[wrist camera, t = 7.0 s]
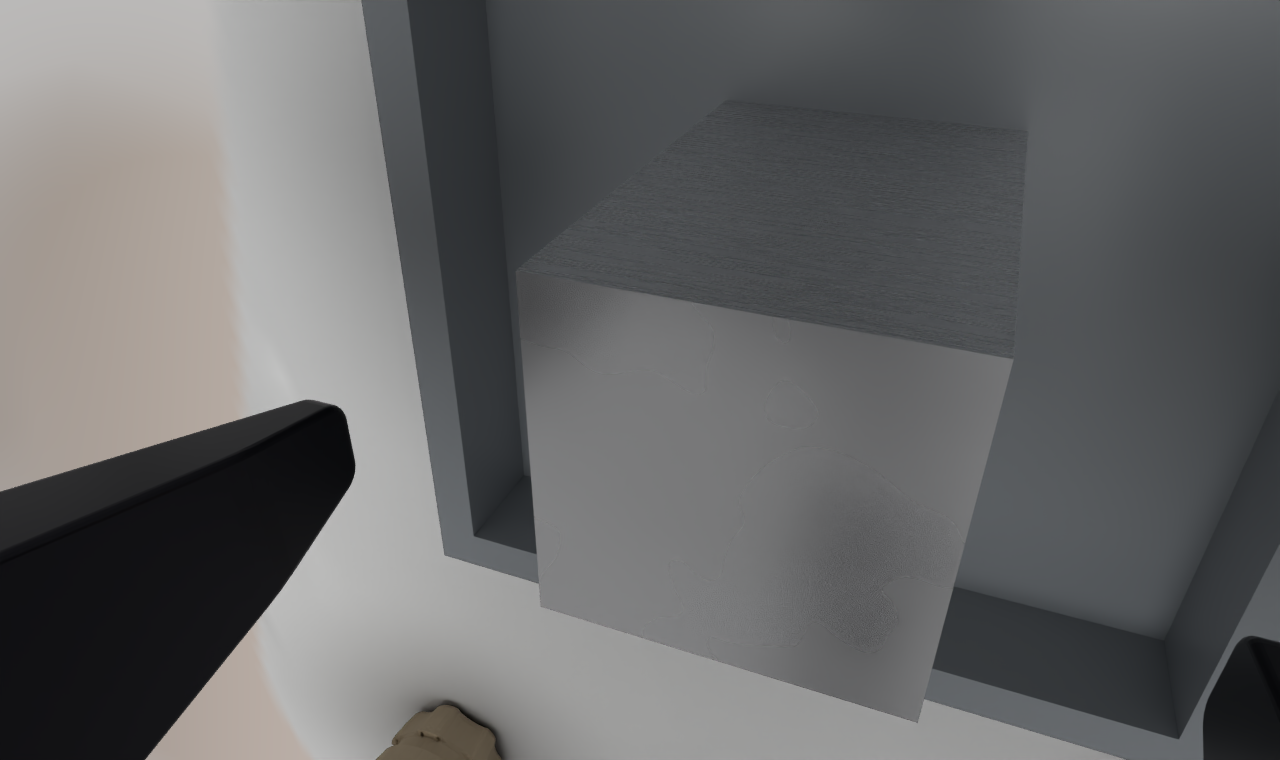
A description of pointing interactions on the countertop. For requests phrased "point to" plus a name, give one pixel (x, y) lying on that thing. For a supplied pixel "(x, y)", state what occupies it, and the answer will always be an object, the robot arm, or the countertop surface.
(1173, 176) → the tote
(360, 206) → the countertop surface
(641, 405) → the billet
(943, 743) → the countertop surface
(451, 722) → the handle
